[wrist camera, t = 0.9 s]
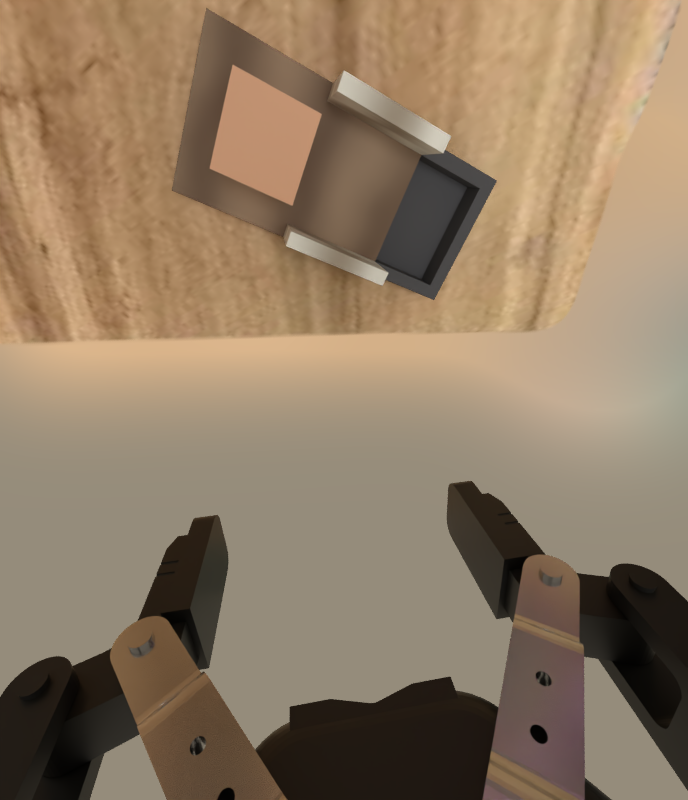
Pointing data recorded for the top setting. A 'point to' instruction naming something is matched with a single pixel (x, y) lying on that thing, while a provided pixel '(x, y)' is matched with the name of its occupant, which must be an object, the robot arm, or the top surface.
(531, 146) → the top surface
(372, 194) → the walnut platform
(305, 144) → the terracotta block
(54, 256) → the top surface
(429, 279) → the tray
